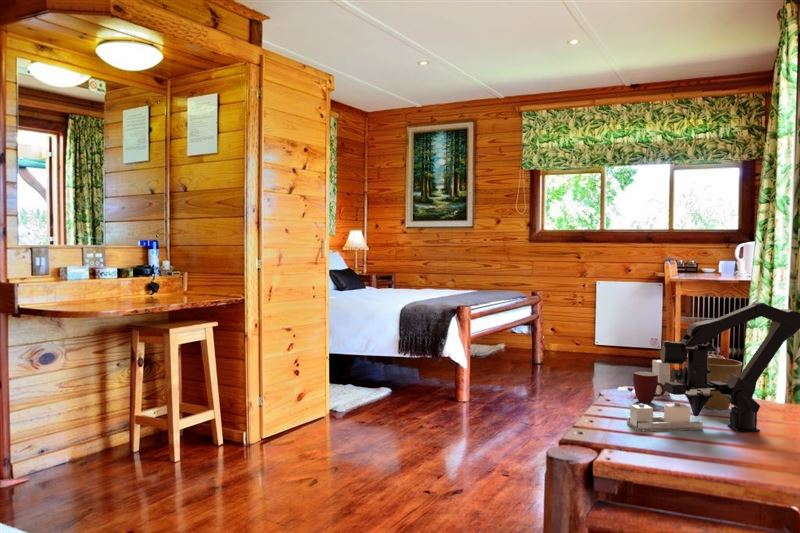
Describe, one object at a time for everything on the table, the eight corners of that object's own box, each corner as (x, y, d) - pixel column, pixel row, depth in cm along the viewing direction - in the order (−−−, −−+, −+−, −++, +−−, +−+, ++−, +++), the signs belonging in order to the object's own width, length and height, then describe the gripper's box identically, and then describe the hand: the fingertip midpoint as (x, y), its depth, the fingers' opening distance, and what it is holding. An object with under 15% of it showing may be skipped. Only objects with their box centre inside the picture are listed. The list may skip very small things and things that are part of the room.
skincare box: (670, 395, 233) (671, 362, 232) (658, 395, 232) (659, 362, 232) (662, 391, 239) (663, 359, 238) (651, 391, 238) (652, 359, 238)
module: (682, 421, 194) (682, 401, 193) (689, 425, 190) (690, 405, 190) (663, 422, 193) (664, 402, 193) (671, 425, 189) (671, 405, 189)
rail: (687, 422, 196) (688, 400, 196) (702, 429, 188) (703, 406, 188) (626, 423, 193) (627, 401, 193) (639, 431, 186) (640, 407, 186)
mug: (666, 402, 222) (667, 373, 222) (663, 407, 215) (664, 377, 215) (634, 398, 227) (635, 370, 227) (630, 402, 220) (631, 374, 220)
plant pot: (686, 401, 224) (687, 356, 224) (730, 403, 222) (732, 357, 222) (700, 411, 209) (701, 363, 209) (748, 414, 207) (749, 365, 207)
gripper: (709, 360, 201) (708, 408, 201) (654, 360, 198) (652, 409, 199) (732, 366, 190) (730, 418, 190) (674, 367, 187) (672, 419, 188)
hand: (695, 416), depth 192 cm, fingers closed
